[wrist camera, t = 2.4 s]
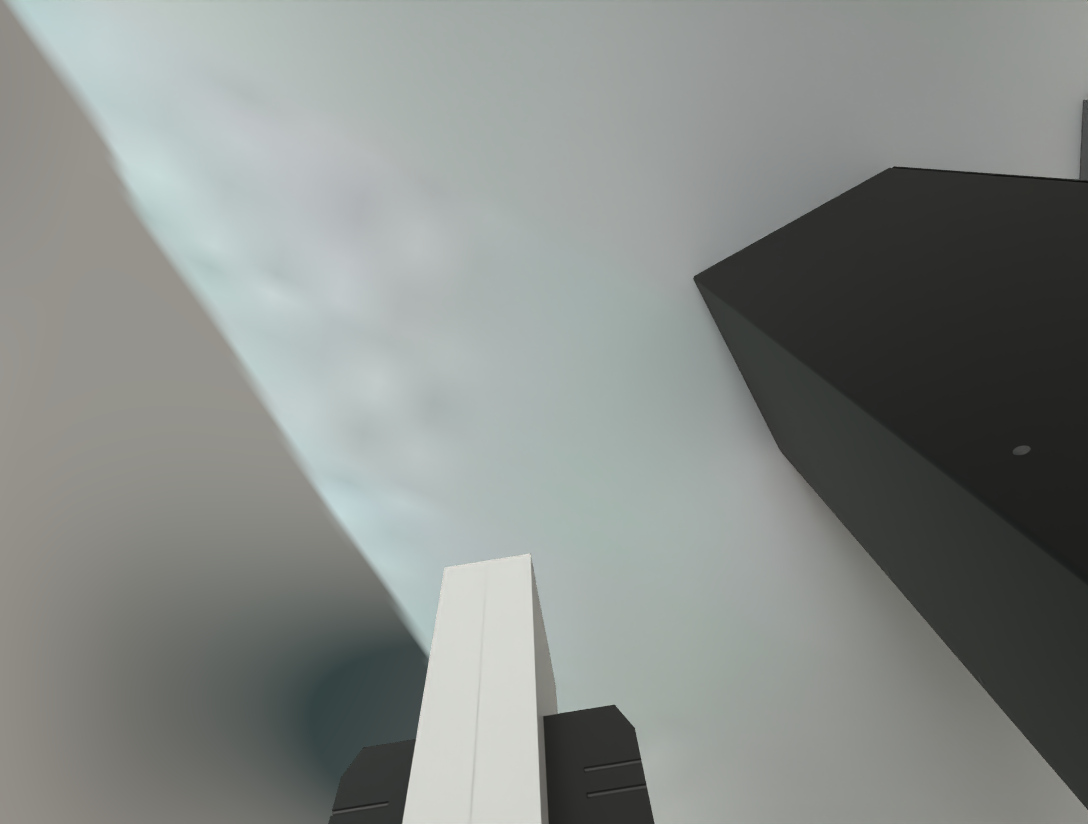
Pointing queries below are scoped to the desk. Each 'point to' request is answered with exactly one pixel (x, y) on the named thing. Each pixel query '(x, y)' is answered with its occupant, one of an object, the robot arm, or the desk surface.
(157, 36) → the desk surface
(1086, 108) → the mat
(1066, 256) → the black rectangular box
